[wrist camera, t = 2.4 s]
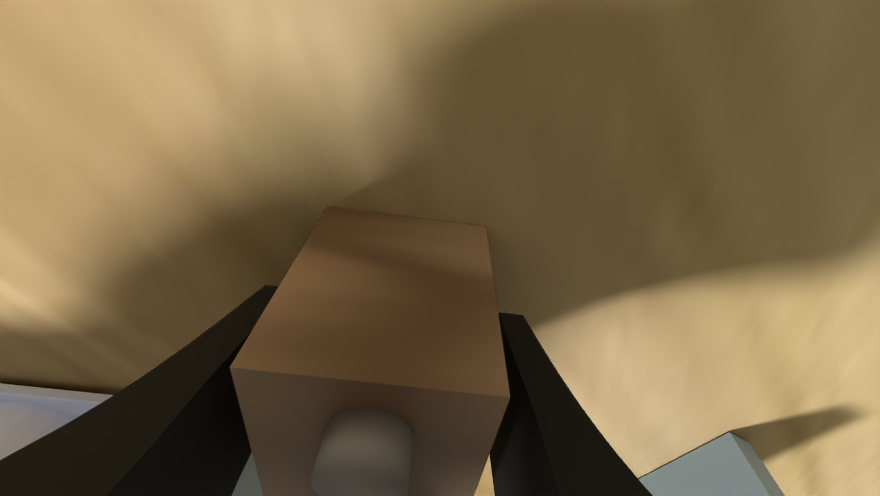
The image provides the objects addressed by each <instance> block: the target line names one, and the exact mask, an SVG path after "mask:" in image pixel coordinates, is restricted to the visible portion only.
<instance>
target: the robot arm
mask: <svg viewBox="0 0 880 496" xmlns="http://www.w3.org/2000/svg"><path fill="white" fill-rule="evenodd" d="M277 288H278V287H277V286H269V285H265V286H264V287H263V288H261V289H260V290H259V291H257V292H256V293H255V294H253V295H252V296H251V297H249V298H248V299H247V300H245V301H244V302H243V303H242V304H240V305H239V306H238V307H237V308H235V309H234V310H233V311H231V312H230V313H229V314H228V315H226V316H225V317H224V318H222V319H221V320H220V321H219V322H217V323H216V324H215V325H213V326H212V327H211V328H209V329H208V330H207V331H205V332H204V333H203V334H201V335H200V336H199V337H197V338H196V339H195V340H193V341H192V342H191V343H189V344H188V345H187V346H185V347H184V348H183V349H181V350H180V351H178V352H177V353H176V354H174V355H173V356H171V357H170V358H168V359H167V360H166V361H164V362H163V363H161V364H160V365H158V366H157V367H155V368H154V369H153V370H151V371H150V372H148V373H147V374H145V375H144V376H142V377H141V378H140V379H138V380H137V381H135V382H134V383H132V384H130V385H129V386H127V387H126V388H124V389H123V390H121V391H120V392H118V393H116V394H115V395H109V394H99V393H89V392H80V391H70V390H60V389H50V388H41V387H31V386H21V385H12V384H2V383H0V496H232V494H233V491H234V489H235V487H236V485H237V482H238V480H239V478H240V476H241V473H242V471H243V469H244V467H245V465H246V463H247V461H248V459H249V457H250V455H251V453H252V451H251V447H250V443H249V439H248V435H247V432H246V428H245V424H244V420H243V416H242V413H241V409H240V405H239V401H238V397H237V393H236V390H235V386H234V382H233V378H232V374H231V370H230V366H231V364H232V363H233V361H234V359H235V358H236V356H237V354H238V353H239V351H240V349H241V348H242V346H243V345H244V343H245V341H246V340H247V338H248V336H249V335H250V333H251V331H252V330H253V328H254V326H255V325H256V323H257V321H258V320H259V318H260V317H261V315H262V313H263V312H264V310H265V308H266V307H267V305H268V303H269V302H270V300H271V298H272V297H273V295H274V293H275V292H276V290H277ZM498 315H499V321H500V328H501V335H502V342H503V349H504V356H505V363H506V370H507V377H508V384H509V391H510V400H509V402H508V405H507V408H506V410H505V413H504V416H503V419H502V421H501V424H500V427H499V429H498V432H497V435H496V437H495V440H494V443H493V445H492V448H491V451H490V461H491V469H492V477H493V485H494V493H495V496H653V495H652V494H651V493H650V492H649V491H648V490H647V489H646V487H645V486H644V485H643V484H642V483H641V482H640V481H639V479H638V478H637V477H636V476H635V475H634V474H633V472H632V471H631V470H630V469H629V468H628V466H627V465H626V464H625V463H624V462H623V460H622V459H621V458H620V457H619V456H618V454H617V453H616V452H615V451H614V449H613V448H612V447H611V446H610V444H609V443H608V442H607V441H606V439H605V438H604V437H603V435H602V434H601V433H600V431H599V430H598V429H597V427H596V426H595V425H594V423H593V422H592V421H591V419H590V418H589V417H588V415H587V414H586V413H585V411H584V410H583V408H582V407H581V406H580V404H579V403H578V401H577V400H576V398H575V397H574V396H573V394H572V393H571V391H570V390H569V388H568V387H567V385H566V384H565V382H564V381H563V379H562V378H561V376H560V375H559V373H558V372H557V370H556V368H555V367H554V365H553V364H552V362H551V361H550V359H549V357H548V356H547V354H546V353H545V351H544V349H543V348H542V346H541V344H540V343H539V341H538V339H537V338H536V336H535V334H534V333H533V331H532V329H531V327H530V326H529V324H528V322H527V321H526V319H525V318H524V316H523V315H516V314H507V313H498Z"/></svg>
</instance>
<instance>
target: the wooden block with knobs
mask: <svg viewBox="0 0 880 496" xmlns="http://www.w3.org/2000/svg"><path fill="white" fill-rule="evenodd" d="M230 370H231V374H232V378H233V382H234V386H235V390H236V393H237V397H238V401H239V405H240V409H241V413H242V416H243V420H244V424H245V428H246V432H247V435H248V439H249V443H250V447H251V451H252V455H253V458H254V462H255V466H256V470H257V474H258V478H259V481H260V485H261V489H262V493H263V496H474V494H475V491H476V489H477V486H478V483H479V480H480V478H481V475H482V472H483V470H484V467H485V464H486V462H487V459H488V456H489V454H490V451H491V448H492V445H493V443H494V440H495V437H496V435H497V432H498V429H499V427H500V424H501V421H502V419H503V416H504V413H505V410H506V408H507V405H508V402H509V400H510V391H509V384H508V377H507V370H506V363H505V356H504V349H503V342H502V335H501V328H500V321H499V315H498V308H497V301H496V294H495V287H494V280H493V273H492V266H491V259H490V252H489V245H488V238H487V231H486V227H484V226H476V225H468V224H461V223H453V222H445V221H437V220H429V219H422V218H414V217H406V216H398V215H390V214H383V213H375V212H367V211H359V210H351V209H343V208H336V207H328V206H327V208H326V209H325V211H324V213H323V214H322V216H321V218H320V219H319V221H318V223H317V224H316V226H315V228H314V229H313V231H312V232H311V234H310V236H309V237H308V239H307V241H306V242H305V244H304V246H303V247H302V249H301V251H300V252H299V254H298V256H297V257H296V259H295V260H294V262H293V264H292V265H291V267H290V269H289V270H288V272H287V274H286V275H285V277H284V279H283V280H282V282H281V284H280V285H279V287H278V288H277V290H276V292H275V293H274V295H273V297H272V298H271V300H270V302H269V303H268V305H267V307H266V308H265V310H264V312H263V313H262V315H261V317H260V318H259V320H258V321H257V323H256V325H255V326H254V328H253V330H252V331H251V333H250V335H249V336H248V338H247V340H246V341H245V343H244V345H243V346H242V348H241V349H240V351H239V353H238V354H237V356H236V358H235V359H234V361H233V363H232V364H231V366H230Z"/></svg>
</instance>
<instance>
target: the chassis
mask: <svg viewBox="0 0 880 496" xmlns="http://www.w3.org/2000/svg"><path fill="white" fill-rule="evenodd" d="M639 481H640V482H641V483H642V484H643V485H644V486H645V487H646V489H647V490H648V491H649V492H650V493H651V494H652V495H653V496H785V495H784V494H783V492H782V491H781V489H780V488H779V486H778V485H777V483H776V482H775V480H774V479H773V477H772V476H771V474H770V473H769V471H768V470H767V468H766V467H765V465H764V464H763V462H762V461H761V459H760V458H759V456H758V455H757V453H756V452H755V450H754V449H753V447H752V446H751V444H750V443H749V442H747V441H745V440H743V439H741V438H740V437H738V436H736V435H734V434H732V433H730V432H728V433H726V434H725V435H723V436H721V437H719V438H717V439H715V440H713V441H711V442H709V443H707V444H705V445H703V446H701V447H699V448H698V449H696V450H694V451H692V452H690V453H688V454H686V455H684V456H682V457H680V458H678V459H676V460H674V461H672V462H671V463H669V464H667V465H665V466H663V467H661V468H659V469H657V470H655V471H653V472H651V473H649V474H647V475H645V476H644V477H642V478H640V479H639ZM232 496H263V493H262V489H261V485H260V481H259V478H258V474H257V470H256V466H255V462H254V458H253V455H252V453H251V455H250V457H249V459H248V461H247V463H246V465H245V467H244V469H243V471H242V473H241V476H240V478H239V480H238V482H237V485H236V487H235V489H234V491H233V494H232Z"/></svg>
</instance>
